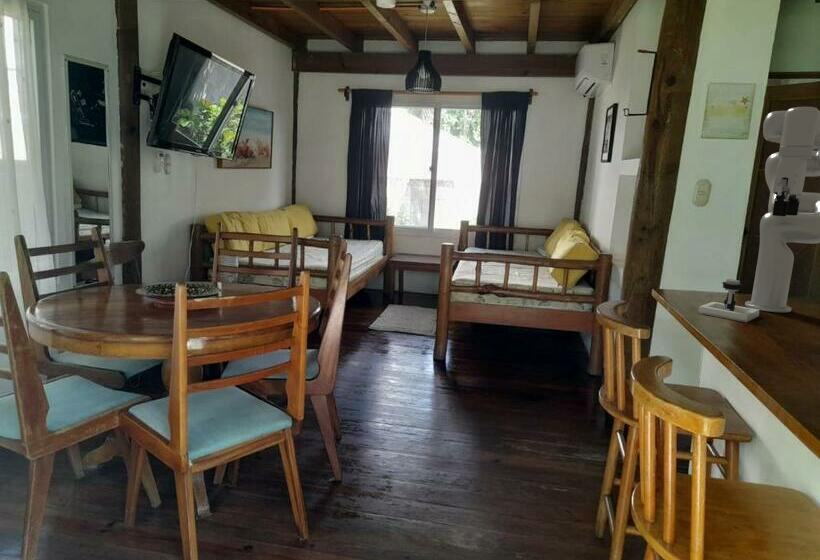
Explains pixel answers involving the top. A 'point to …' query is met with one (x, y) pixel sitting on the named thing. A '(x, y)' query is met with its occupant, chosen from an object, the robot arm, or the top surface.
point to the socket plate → (729, 312)
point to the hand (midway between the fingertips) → (784, 215)
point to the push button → (731, 293)
